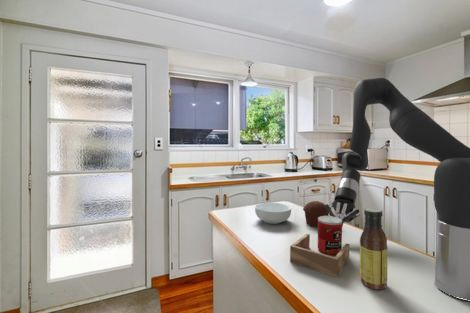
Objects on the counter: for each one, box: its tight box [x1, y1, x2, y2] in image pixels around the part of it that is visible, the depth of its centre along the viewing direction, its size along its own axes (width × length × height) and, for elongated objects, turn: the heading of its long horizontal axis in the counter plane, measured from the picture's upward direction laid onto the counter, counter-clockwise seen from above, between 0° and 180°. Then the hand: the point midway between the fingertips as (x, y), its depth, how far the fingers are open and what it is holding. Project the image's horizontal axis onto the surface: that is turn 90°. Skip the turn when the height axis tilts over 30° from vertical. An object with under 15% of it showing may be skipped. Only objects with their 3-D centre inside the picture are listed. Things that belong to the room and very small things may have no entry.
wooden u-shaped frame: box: [289, 233, 351, 278], centre depth 75 cm, size 13×14×5 cm
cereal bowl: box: [254, 202, 292, 225], centre depth 113 cm, size 17×17×7 cm
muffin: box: [302, 201, 330, 228], centre depth 109 cm, size 12×11×10 cm
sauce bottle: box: [359, 207, 388, 291], centre depth 62 cm, size 6×6×20 cm
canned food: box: [317, 215, 343, 257], centre depth 82 cm, size 8×8×11 cm
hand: (337, 229), depth 89 cm, fingers closed
